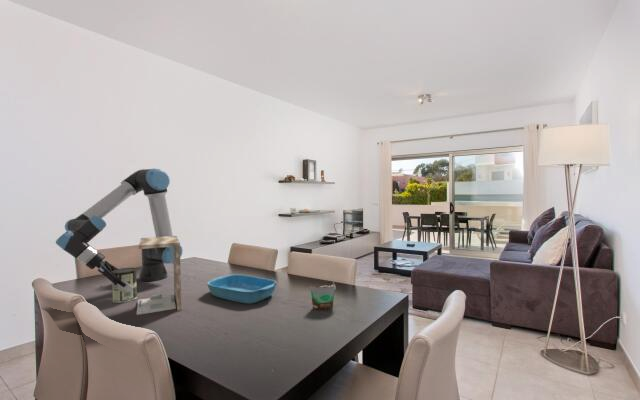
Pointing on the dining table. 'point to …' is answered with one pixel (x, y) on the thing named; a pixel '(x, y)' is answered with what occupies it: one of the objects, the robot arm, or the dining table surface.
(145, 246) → the shelf hood
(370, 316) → the dining table surface
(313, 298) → the food container
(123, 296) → the coffee can
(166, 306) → the seat plate
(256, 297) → the casserole dish
